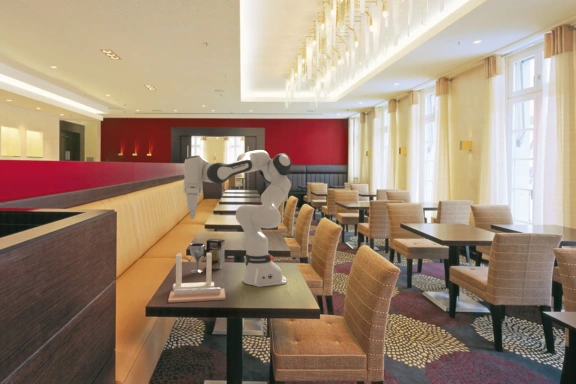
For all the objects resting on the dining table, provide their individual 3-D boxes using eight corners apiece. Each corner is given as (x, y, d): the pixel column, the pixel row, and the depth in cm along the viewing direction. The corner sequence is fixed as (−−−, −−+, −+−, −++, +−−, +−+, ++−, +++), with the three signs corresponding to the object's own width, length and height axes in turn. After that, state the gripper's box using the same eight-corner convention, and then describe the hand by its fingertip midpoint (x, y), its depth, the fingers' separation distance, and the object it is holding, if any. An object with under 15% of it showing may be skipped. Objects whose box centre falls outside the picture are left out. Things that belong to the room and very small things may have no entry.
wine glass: (206, 270, 204) (207, 243, 203) (200, 273, 196) (200, 246, 196) (194, 268, 206) (194, 242, 205) (187, 272, 198) (187, 245, 197)
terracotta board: (224, 290, 171) (224, 288, 171) (225, 299, 159) (225, 297, 159) (170, 293, 166) (170, 290, 166) (168, 302, 154) (168, 300, 154)
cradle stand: (213, 284, 180) (214, 252, 179) (214, 288, 174) (214, 255, 173) (173, 286, 176) (173, 253, 175) (172, 290, 170) (172, 256, 169)
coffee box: (205, 268, 208) (205, 240, 207) (209, 265, 214) (210, 238, 213) (220, 269, 206) (221, 241, 205) (224, 266, 213) (225, 239, 212)
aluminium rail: (220, 292, 166) (220, 286, 166) (220, 293, 164) (220, 288, 163) (174, 294, 161) (174, 289, 161) (174, 296, 159) (174, 290, 159)
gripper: (187, 187, 186) (187, 214, 187) (185, 190, 166) (184, 220, 167) (200, 187, 187) (199, 214, 188) (199, 190, 167) (199, 220, 168)
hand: (192, 217), depth 177 cm, fingers open, 8 cm apart
